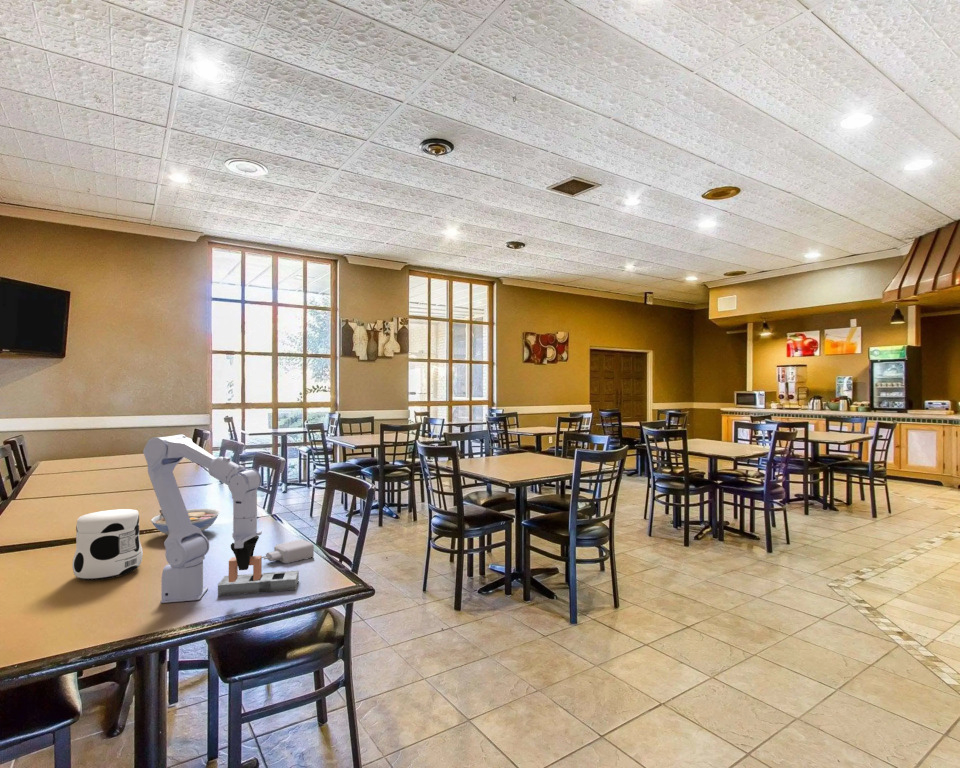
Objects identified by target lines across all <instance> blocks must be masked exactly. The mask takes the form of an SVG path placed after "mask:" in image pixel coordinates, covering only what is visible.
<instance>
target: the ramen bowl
mask: <svg viewBox="0 0 960 768" xmlns="http://www.w3.org/2000/svg"><path fill="white" fill-rule="evenodd" d="M186 510H187V512H188V515H189V518H190V520H191V523H192V525H194V526H196V527H198V528H200V529H201V531H202V532H203V531H205V530H208V529H209V528H210V527H212V525H213V524H214V523H215V521H216V520H217V518H218V516H219V514H220V511H218V510H216V509H212V508H192V509H189V508H188V509H186ZM159 513H160V514H159V515H155V516H154V517H152V518H151V520H150V521H151V524H152V525H153V526H154V527H155V529H157V530H158V531H159V532H160V533H162V534H164V535H167V536H169V534H170V532H169V529H168V527H167V524H166V521H165V518H164V516H163V513H162V510H161V509H159Z"/></svg>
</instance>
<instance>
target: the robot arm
mask: <svg viewBox="0 0 960 768" xmlns="http://www.w3.org/2000/svg"><path fill="white" fill-rule="evenodd" d="M142 453H143V456H144V458H145V460H146V463H147V474H148V477H149V480H150V483H151V486H152V488H153V490H154V493H155V497H156V498H157V501H158V505H159V507H160V510H162V513H163V516H164V518H165V521H166V524H167V527H168V529H169V532H170V534H169V535H167V538H165V540H164V542H163V544H164V548H165V560H166V562H167V563H168V564H166V565H164V567H163V569H162V573H161V600H160V604H165V603H166V604H167V603H177V602H189V601H192V602H193V601H199V600H201V598H202V597H203V596H204V595H205V593H206V592H207V591H208V590H209V588H208V586H206V587H205V586H204V577H203V576H204V560H205V559H206V557H205V556H206V555H207V554H208V552H209V550H210V542H209V538H207V536H205V535H204V533H203V531H201V529H200V528H198V527H196V526H194V525H192V523H191V520H190V518H189V515H188V512H187V510H188V509H187V508H186V505H185V502H184V499H183V496H182V493H181V491H180V488H179V485H178V483H177V480H176V478H175V474H174V470H175V468H176V466H178V464H180V462H181V461H182V460H183V459H184V458H185V459H187V460H189V461H192V462H193V463H195V464H198V465H200V466H202V467H204V468H206V469H208V474H209V476H211V477H213V478H214V479H216V480H218V481H219V482H221V483H223V484H224V485H227V487H228V490H229V492H230V493H231V499H232V503H233V506H232V507H233V513H232V515H233V519H232V525H233V526H232V528H233V529H232V530H233V531H232V532H233V533H232V534H231V535H232V538H233V539H232V540H233V542H232V543H231V544H230V549H231V550H232V552H233V554H234V557H236V560H237V564H238V571H247V570H248V569H249V566H250V565H249V562H250V556H254V552H255V548H256V545H257V543H258V541H259V539H260V537H259V536H260V535H262V530H258V489H259V488H260V486H261V485H262V479H263V478H262V476H261V474H260V472H259V471H257V469H255V468H248V469H247V468H245V466H244V465H240V464H238V463H236V462H234V461H233V460H231V457H229V456H219V457H216V456H214V455H213V454H211V453H210V452H208V451H207V450H205V449H204V448H202V447H201V446H199V445H198V444H196V443H195V442H193V439H192V438H190V437H187V436H186V435H184V434H181V433H179V434H174V435H168V436H159V437H157V436H154V437H151V438H150V439H148V441H147V442H146V443H145V446H144V448H143V450H142Z"/></svg>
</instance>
